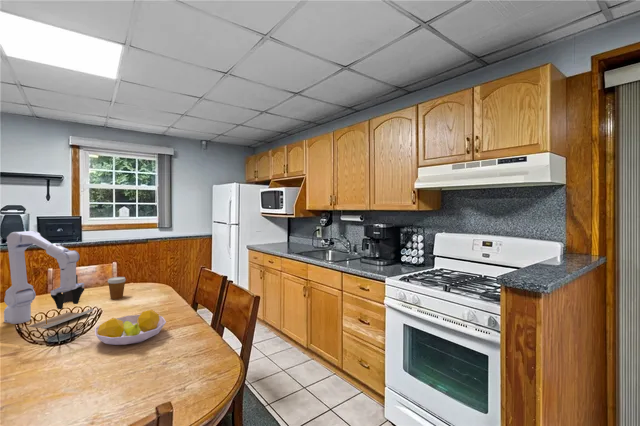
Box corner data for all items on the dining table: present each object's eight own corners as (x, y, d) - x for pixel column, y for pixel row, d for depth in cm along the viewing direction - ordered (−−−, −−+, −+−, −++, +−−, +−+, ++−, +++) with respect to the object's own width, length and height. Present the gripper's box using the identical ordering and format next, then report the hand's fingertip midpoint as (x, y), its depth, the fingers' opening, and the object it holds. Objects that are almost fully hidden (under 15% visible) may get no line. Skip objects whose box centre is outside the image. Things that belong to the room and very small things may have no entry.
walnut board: (26, 329, 143) (26, 326, 143) (68, 314, 163) (68, 312, 163) (39, 330, 142) (39, 327, 142) (80, 315, 162) (80, 313, 162)
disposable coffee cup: (108, 296, 195) (109, 277, 194) (126, 295, 199) (127, 276, 198) (105, 301, 186) (106, 280, 186) (124, 299, 190) (124, 279, 190)
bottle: (64, 304, 178) (64, 269, 177) (61, 302, 182) (61, 267, 182) (79, 301, 183) (79, 267, 183) (75, 299, 187) (75, 266, 187)
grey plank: (41, 330, 142) (40, 327, 142) (81, 315, 162) (80, 312, 162) (54, 325, 141) (53, 322, 141) (93, 310, 160) (93, 308, 160)
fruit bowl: (104, 330, 144) (104, 305, 144) (169, 324, 153) (169, 301, 153) (80, 358, 118) (80, 329, 117) (160, 349, 127) (161, 321, 126)
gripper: (60, 281, 138) (59, 312, 138) (89, 274, 152) (89, 302, 153) (46, 280, 139) (46, 310, 140) (77, 273, 153) (77, 301, 154)
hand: (68, 306), depth 146 cm, fingers open, 7 cm apart
